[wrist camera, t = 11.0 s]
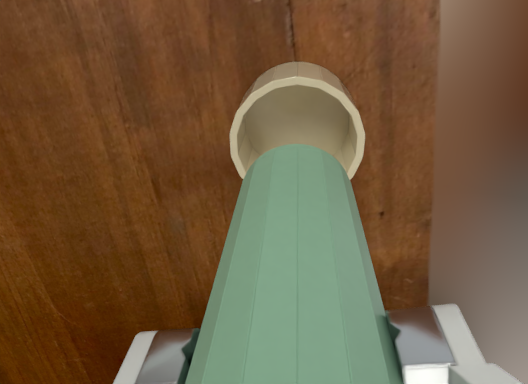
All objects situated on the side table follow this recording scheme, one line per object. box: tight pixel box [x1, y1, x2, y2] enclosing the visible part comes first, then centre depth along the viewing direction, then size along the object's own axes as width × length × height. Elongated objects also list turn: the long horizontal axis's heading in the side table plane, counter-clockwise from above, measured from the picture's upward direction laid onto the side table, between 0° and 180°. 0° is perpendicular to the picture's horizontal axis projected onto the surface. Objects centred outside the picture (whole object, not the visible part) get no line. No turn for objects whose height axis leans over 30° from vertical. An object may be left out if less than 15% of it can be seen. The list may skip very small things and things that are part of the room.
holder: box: [230, 62, 365, 180], centre depth 23 cm, size 7×7×4 cm
